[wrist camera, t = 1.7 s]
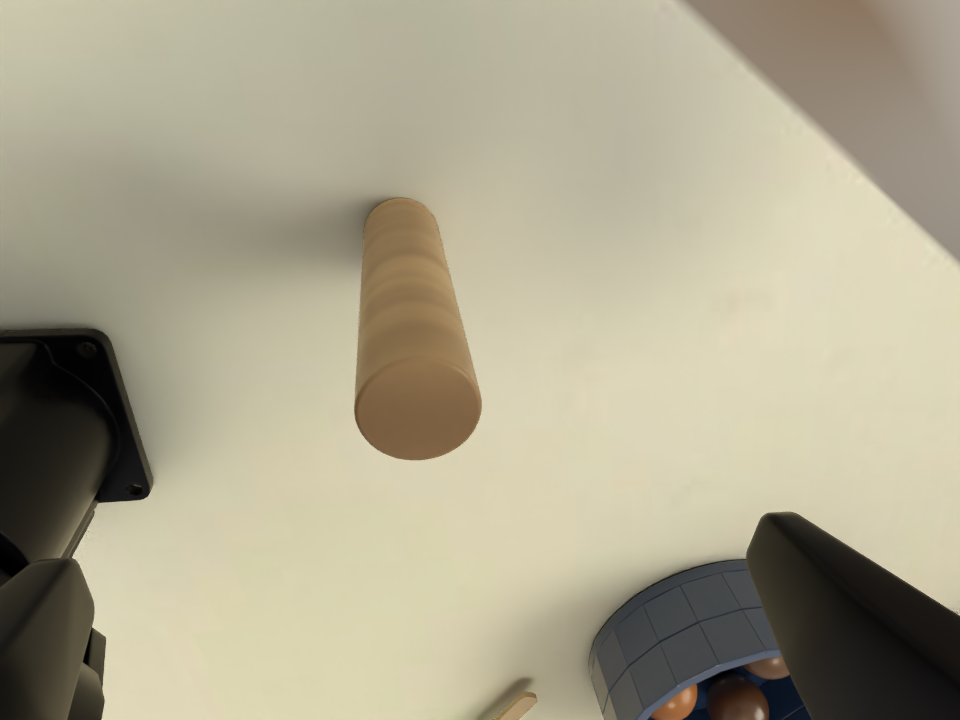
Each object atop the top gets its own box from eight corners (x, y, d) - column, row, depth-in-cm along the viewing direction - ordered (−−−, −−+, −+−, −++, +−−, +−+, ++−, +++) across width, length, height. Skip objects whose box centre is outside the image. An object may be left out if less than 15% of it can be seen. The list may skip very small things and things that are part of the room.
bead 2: (703, 664, 32) (731, 723, 29) (756, 658, 32) (789, 715, 30) (690, 697, 33) (716, 755, 31) (741, 690, 34) (771, 748, 31)
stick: (361, 197, 17) (350, 360, 10) (438, 197, 18) (486, 355, 10) (365, 269, 19) (358, 466, 11) (438, 268, 19) (479, 458, 11)
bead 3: (728, 598, 29) (762, 657, 26) (786, 593, 29) (825, 650, 27) (713, 637, 31) (744, 696, 28) (768, 631, 31) (803, 689, 28)
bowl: (607, 571, 28) (644, 664, 24) (851, 549, 29) (921, 632, 26) (574, 720, 34) (599, 812, 30) (776, 694, 36) (824, 778, 32)
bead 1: (629, 642, 30) (652, 703, 27) (687, 636, 30) (715, 695, 28) (619, 678, 31) (640, 739, 29) (674, 671, 32) (700, 731, 29)
